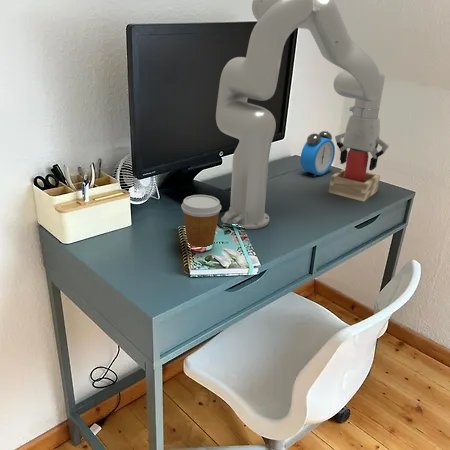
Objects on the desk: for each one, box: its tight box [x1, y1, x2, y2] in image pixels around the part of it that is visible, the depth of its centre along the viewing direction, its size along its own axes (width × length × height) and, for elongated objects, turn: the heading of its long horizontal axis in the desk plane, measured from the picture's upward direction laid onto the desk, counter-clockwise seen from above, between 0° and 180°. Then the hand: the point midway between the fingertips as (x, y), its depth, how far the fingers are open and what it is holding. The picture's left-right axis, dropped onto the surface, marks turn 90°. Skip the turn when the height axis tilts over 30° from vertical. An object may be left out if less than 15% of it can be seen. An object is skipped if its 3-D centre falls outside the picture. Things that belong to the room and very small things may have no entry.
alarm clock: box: [300, 130, 336, 178], centre depth 176 cm, size 13×6×15 cm, turn 135°
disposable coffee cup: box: [180, 194, 222, 247], centre depth 120 cm, size 10×10×12 cm
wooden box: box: [328, 167, 381, 203], centre depth 163 cm, size 12×12×6 cm
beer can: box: [344, 148, 369, 183], centre depth 160 cm, size 7×7×12 cm
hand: (357, 166), depth 160 cm, fingers open, 9 cm apart
